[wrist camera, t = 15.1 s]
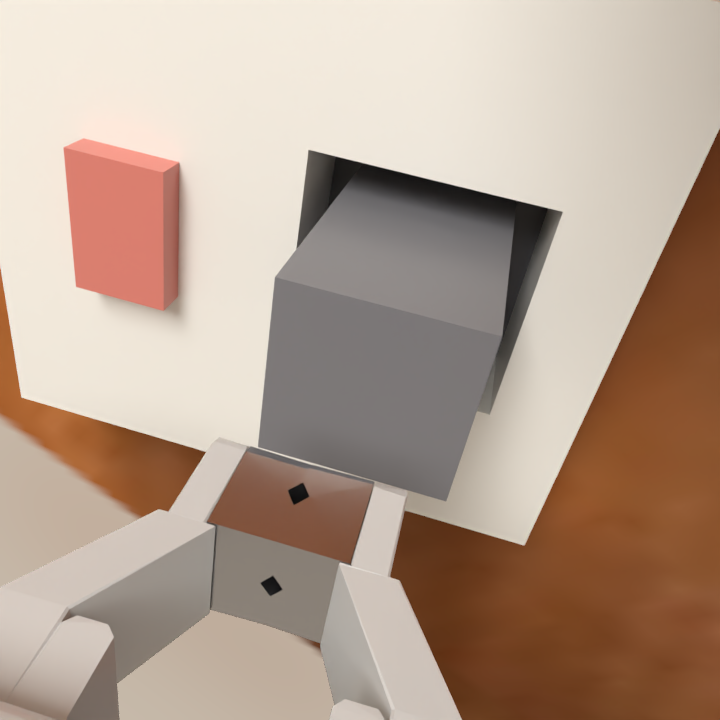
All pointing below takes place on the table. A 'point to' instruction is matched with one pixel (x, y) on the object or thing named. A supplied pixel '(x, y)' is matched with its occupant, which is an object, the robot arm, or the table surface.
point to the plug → (388, 330)
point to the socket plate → (322, 186)
